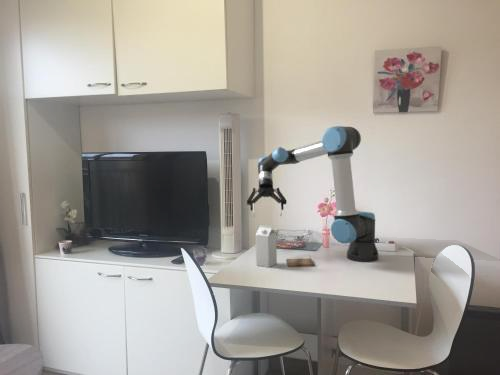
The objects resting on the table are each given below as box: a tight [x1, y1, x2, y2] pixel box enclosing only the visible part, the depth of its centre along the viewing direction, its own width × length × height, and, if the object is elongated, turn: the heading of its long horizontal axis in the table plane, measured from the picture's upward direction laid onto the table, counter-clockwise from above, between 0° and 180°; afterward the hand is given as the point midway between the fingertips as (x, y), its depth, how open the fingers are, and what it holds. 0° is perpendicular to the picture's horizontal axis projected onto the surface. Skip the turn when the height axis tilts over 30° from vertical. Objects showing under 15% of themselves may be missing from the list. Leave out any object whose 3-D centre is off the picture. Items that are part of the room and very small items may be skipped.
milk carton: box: [255, 224, 278, 268], centre depth 198 cm, size 7×7×19 cm
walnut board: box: [285, 257, 315, 268], centre depth 200 cm, size 12×10×1 cm
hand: (267, 215), depth 209 cm, fingers open, 13 cm apart
